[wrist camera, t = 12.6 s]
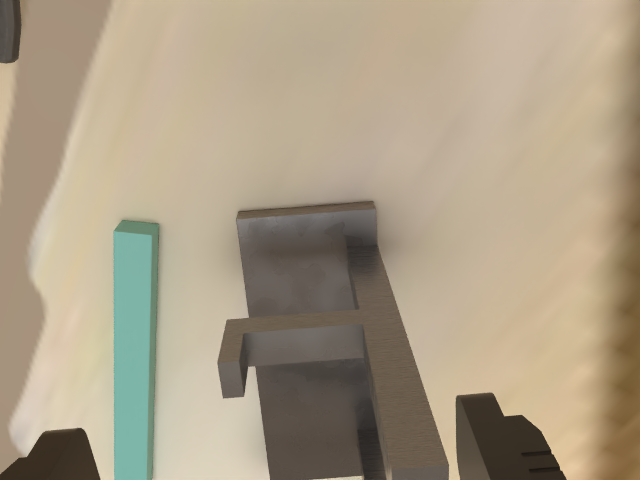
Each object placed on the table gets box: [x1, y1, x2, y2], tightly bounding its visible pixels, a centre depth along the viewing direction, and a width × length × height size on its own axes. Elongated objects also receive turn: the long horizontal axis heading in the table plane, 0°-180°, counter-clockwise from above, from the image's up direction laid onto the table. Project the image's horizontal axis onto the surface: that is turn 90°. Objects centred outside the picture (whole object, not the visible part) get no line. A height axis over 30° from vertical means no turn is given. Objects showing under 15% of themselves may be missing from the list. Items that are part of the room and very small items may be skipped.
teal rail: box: [114, 220, 159, 480], centre depth 43 cm, size 2×22×2 cm, turn 173°
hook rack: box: [218, 202, 449, 480], centre depth 34 cm, size 9×22×22 cm, turn 4°
